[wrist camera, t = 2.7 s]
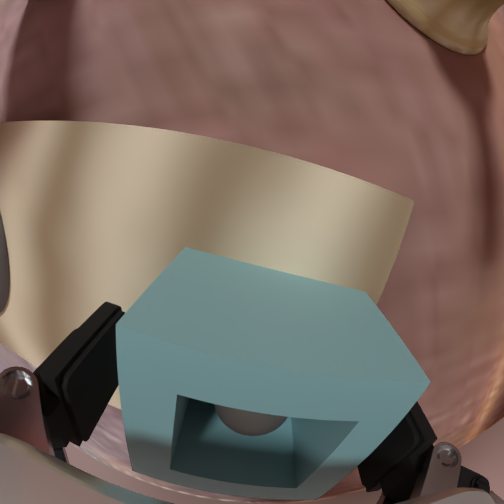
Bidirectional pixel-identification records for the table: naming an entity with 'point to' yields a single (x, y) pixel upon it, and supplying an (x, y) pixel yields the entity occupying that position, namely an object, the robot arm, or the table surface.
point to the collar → (257, 378)
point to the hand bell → (451, 21)
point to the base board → (169, 225)
